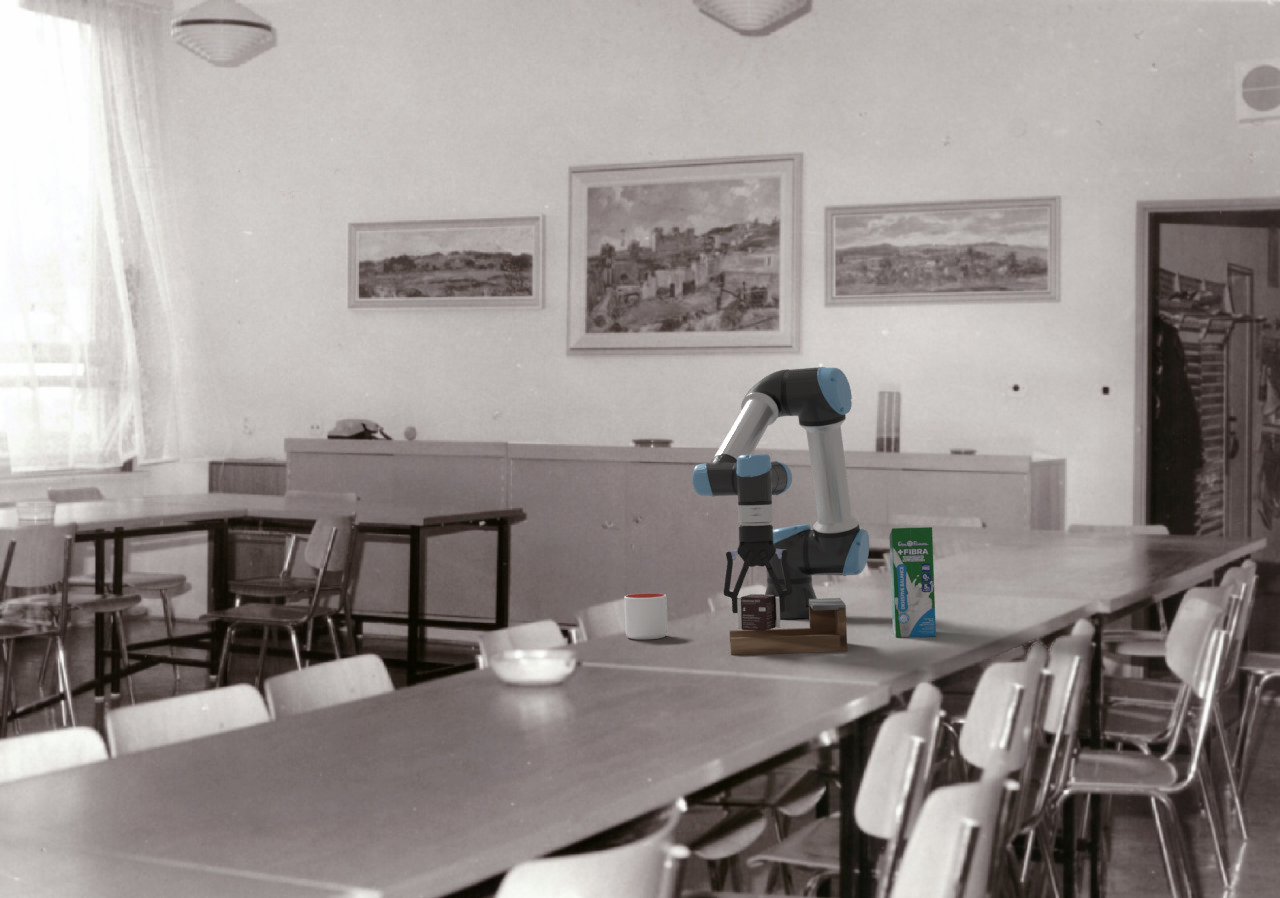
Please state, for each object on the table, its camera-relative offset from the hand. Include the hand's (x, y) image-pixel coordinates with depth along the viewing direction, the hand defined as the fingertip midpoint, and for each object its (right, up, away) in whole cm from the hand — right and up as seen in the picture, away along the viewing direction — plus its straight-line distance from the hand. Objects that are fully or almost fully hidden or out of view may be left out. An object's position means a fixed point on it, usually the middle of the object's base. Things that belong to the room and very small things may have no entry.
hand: (759, 627), depth 318 cm
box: (0, -1, 0) cm, 1 cm away
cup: (-25, -6, +25) cm, 36 cm away
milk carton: (+37, -4, +15) cm, 40 cm away
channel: (+6, -5, 0) cm, 8 cm away
